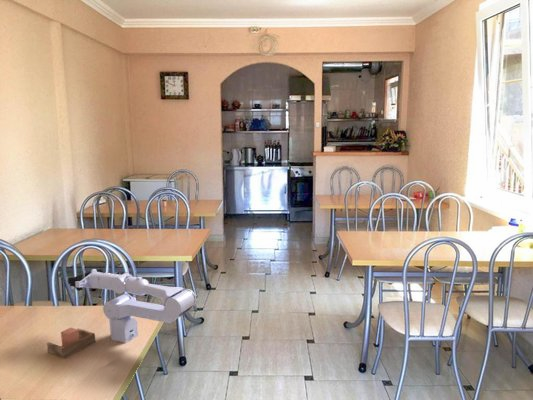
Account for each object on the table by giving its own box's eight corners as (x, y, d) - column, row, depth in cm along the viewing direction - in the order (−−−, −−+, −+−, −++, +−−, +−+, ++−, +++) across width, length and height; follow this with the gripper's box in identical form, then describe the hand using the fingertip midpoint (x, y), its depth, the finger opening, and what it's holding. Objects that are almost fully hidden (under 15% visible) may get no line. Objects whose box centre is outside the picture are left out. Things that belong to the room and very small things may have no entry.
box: (95, 343, 161) (94, 333, 160) (64, 360, 150) (63, 349, 150) (79, 338, 165) (78, 328, 165) (48, 354, 155) (46, 343, 154)
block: (79, 345, 159) (78, 329, 158) (69, 350, 155) (68, 334, 154) (72, 343, 161) (70, 327, 160) (62, 348, 157) (60, 332, 156)
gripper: (117, 265, 171) (91, 263, 176) (87, 274, 158) (60, 272, 163) (118, 284, 171) (92, 281, 177) (88, 294, 158) (61, 291, 164)
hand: (77, 278), depth 170 cm, fingers open, 7 cm apart
